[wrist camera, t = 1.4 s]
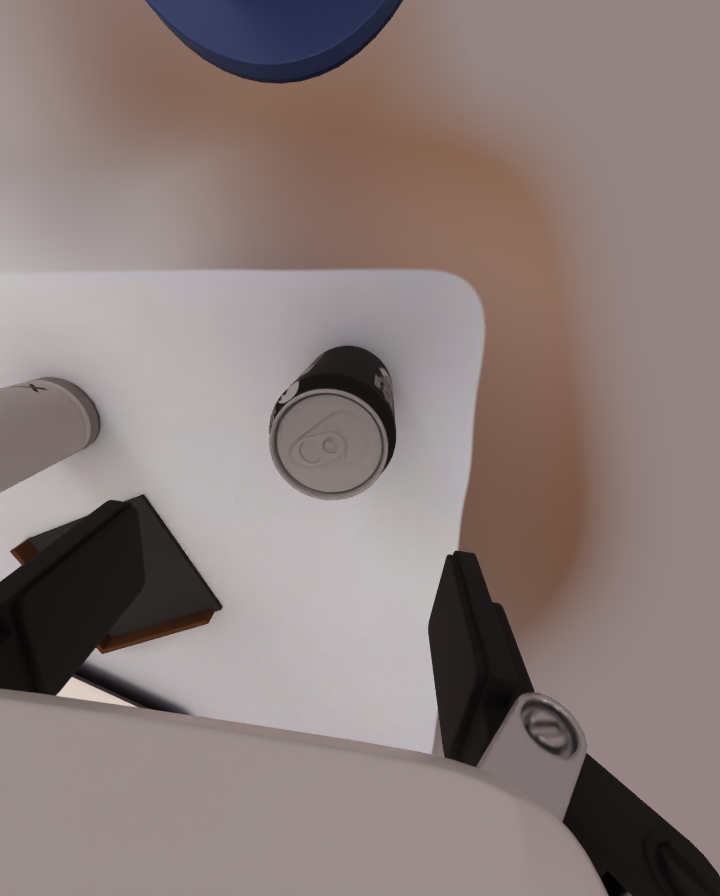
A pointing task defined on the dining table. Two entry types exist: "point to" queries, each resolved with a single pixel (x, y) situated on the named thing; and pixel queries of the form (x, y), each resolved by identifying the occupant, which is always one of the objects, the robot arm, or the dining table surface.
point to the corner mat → (148, 584)
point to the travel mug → (42, 427)
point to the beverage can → (335, 425)
